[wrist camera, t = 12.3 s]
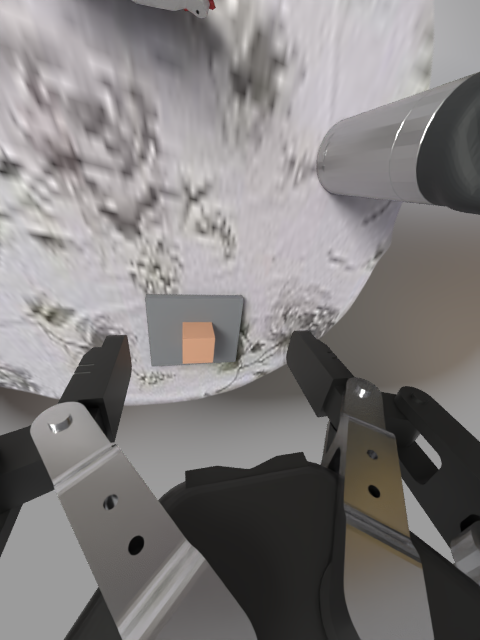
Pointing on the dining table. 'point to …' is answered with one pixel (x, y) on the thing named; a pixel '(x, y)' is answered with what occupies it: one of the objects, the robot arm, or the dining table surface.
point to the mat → (177, 309)
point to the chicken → (181, 5)
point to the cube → (197, 342)
